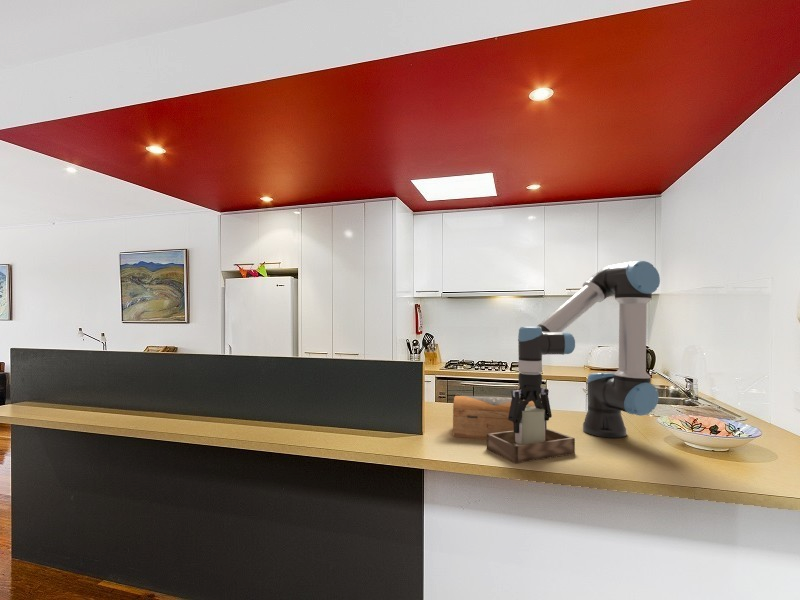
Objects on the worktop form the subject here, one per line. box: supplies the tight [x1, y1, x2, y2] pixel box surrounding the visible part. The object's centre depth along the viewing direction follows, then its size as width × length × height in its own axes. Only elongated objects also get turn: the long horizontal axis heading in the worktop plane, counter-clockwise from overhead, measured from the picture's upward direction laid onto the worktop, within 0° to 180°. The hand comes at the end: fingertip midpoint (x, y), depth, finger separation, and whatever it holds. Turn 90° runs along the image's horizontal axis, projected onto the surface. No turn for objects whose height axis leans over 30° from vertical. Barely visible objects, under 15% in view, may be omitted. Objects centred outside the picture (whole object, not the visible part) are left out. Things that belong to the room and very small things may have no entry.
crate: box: [486, 428, 576, 464], centre depth 142 cm, size 24×15×5 cm, turn 113°
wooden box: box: [452, 395, 535, 440], centre depth 163 cm, size 30×16×14 cm, turn 78°
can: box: [516, 406, 545, 445], centre depth 142 cm, size 9×9×12 cm
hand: (530, 440), depth 142 cm, fingers closed on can, 9 cm apart
